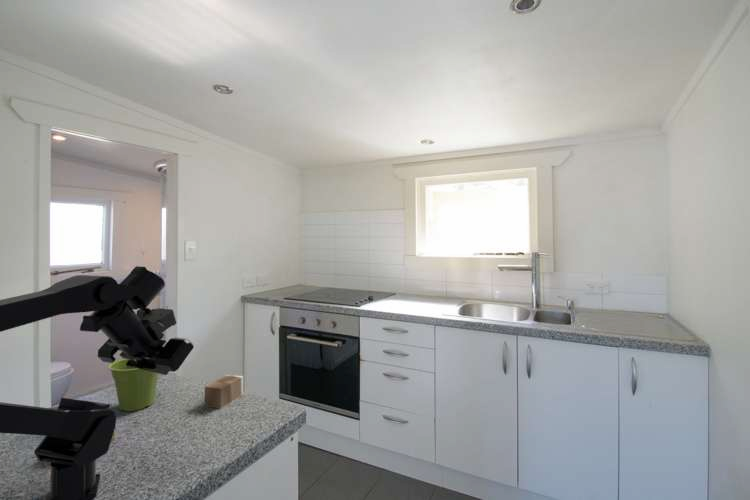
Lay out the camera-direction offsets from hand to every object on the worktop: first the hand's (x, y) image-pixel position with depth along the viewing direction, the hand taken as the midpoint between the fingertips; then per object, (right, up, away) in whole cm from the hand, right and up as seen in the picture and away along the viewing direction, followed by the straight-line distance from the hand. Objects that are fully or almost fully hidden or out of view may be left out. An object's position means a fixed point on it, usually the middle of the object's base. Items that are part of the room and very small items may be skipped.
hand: (166, 372), depth 76 cm
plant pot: (-16, -13, +14) cm, 25 cm away
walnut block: (+4, -11, +14) cm, 18 cm away
